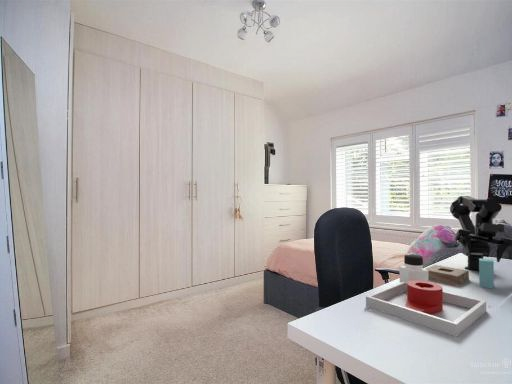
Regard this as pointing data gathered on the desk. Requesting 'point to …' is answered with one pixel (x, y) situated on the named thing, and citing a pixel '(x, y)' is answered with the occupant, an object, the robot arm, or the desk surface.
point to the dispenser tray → (425, 319)
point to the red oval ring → (424, 297)
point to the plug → (486, 273)
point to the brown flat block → (448, 275)
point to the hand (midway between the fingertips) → (483, 258)
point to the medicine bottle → (413, 269)
